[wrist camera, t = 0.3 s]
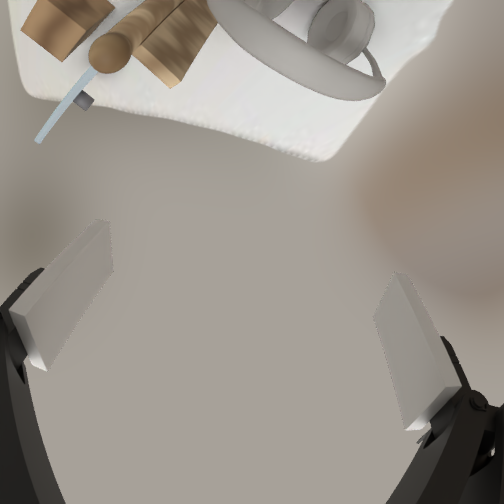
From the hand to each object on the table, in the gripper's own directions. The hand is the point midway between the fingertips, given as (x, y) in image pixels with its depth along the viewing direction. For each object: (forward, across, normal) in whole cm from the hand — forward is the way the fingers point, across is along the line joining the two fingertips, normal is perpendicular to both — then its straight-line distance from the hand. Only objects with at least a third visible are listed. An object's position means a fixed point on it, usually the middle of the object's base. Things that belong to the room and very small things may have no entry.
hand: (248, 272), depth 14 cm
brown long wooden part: (+29, -12, +19) cm, 37 cm away
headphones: (+29, +1, +21) cm, 35 cm away
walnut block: (+30, -30, +19) cm, 46 cm away
